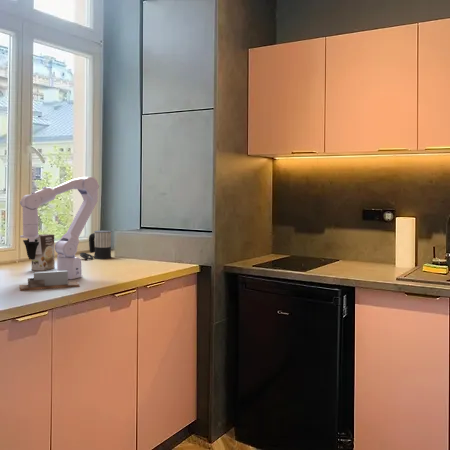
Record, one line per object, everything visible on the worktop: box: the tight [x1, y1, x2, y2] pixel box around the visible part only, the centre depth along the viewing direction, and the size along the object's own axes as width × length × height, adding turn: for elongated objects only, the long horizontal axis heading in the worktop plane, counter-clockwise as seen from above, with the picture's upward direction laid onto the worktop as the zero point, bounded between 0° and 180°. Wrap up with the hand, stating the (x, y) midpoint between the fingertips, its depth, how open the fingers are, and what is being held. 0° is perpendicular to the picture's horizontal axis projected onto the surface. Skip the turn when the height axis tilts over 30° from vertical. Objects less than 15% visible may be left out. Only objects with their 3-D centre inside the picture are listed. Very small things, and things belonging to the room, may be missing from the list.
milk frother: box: [79, 230, 112, 261], centre depth 282 cm, size 14×16×15 cm
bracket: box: [19, 277, 80, 292], centre depth 199 cm, size 21×8×3 cm, turn 113°
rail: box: [33, 270, 69, 286], centre depth 199 cm, size 12×3×5 cm, turn 114°
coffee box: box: [31, 233, 56, 272], centre depth 244 cm, size 9×6×16 cm
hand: (31, 258), depth 211 cm, fingers open, 7 cm apart
